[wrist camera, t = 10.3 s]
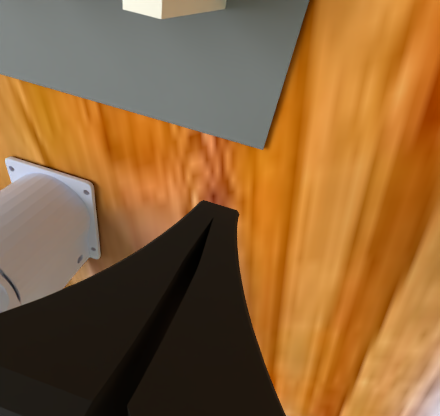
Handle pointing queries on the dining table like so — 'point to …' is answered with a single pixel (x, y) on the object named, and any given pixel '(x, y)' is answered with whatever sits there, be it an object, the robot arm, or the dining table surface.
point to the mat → (159, 59)
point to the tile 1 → (172, 7)
